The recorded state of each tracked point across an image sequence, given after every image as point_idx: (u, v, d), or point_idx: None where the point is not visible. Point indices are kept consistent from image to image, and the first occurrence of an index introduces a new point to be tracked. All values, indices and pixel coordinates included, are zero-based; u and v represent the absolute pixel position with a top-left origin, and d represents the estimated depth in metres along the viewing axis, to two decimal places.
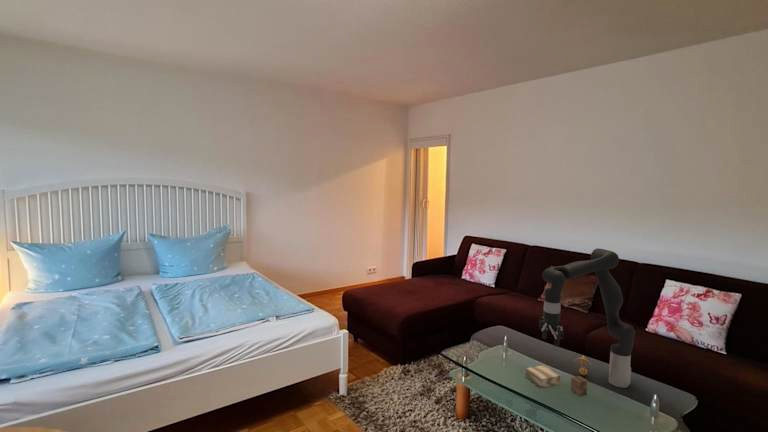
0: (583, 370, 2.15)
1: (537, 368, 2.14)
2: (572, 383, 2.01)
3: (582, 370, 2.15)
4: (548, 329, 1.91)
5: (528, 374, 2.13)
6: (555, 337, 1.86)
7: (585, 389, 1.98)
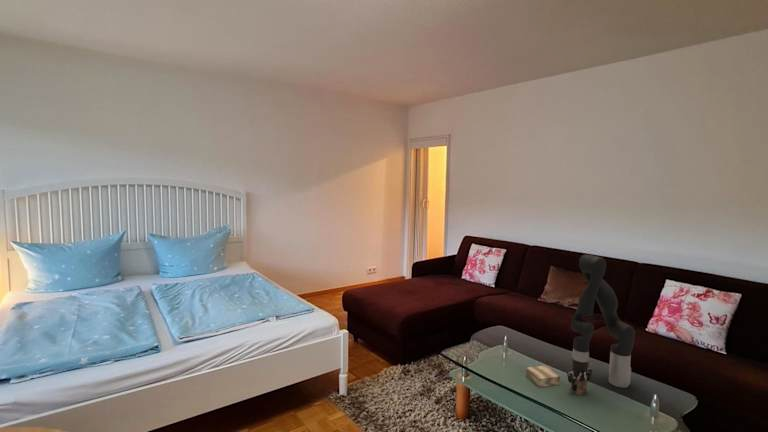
0: None
1: (537, 368, 2.14)
2: None
3: None
4: None
5: (528, 373, 2.14)
6: None
7: (585, 389, 1.98)
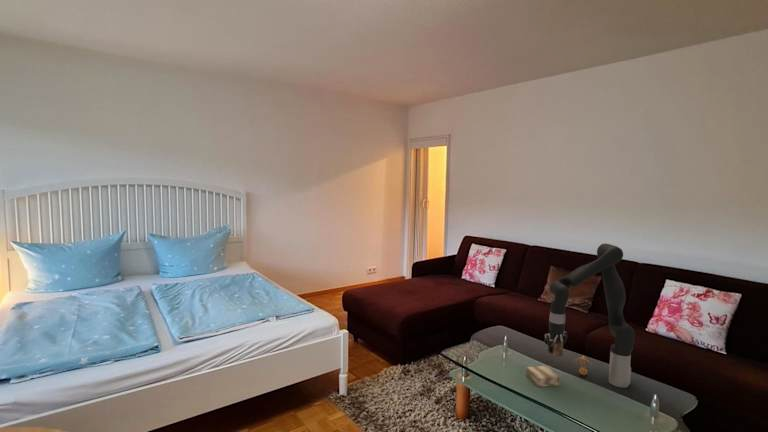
0: (583, 370, 2.15)
1: (538, 368, 2.15)
2: None
3: (582, 370, 2.15)
4: (556, 339, 2.03)
5: (528, 373, 2.14)
6: None
7: (561, 351, 2.03)
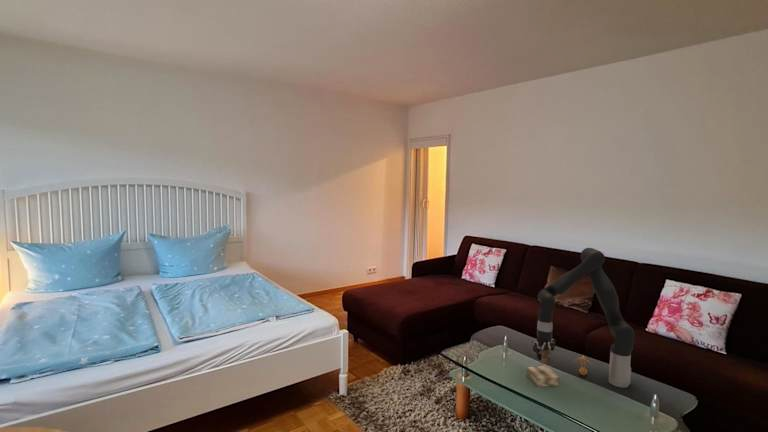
0: (583, 370, 2.15)
1: (538, 368, 2.15)
2: None
3: (582, 370, 2.15)
4: None
5: (528, 372, 2.15)
6: None
7: (549, 358, 2.08)
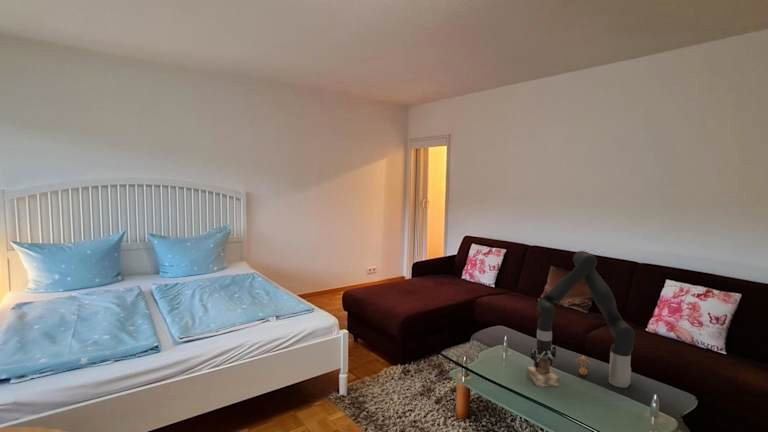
0: (583, 370, 2.15)
1: None
2: None
3: (582, 370, 2.15)
4: (543, 355, 2.09)
5: (528, 372, 2.15)
6: (552, 357, 2.10)
7: (548, 369, 2.09)
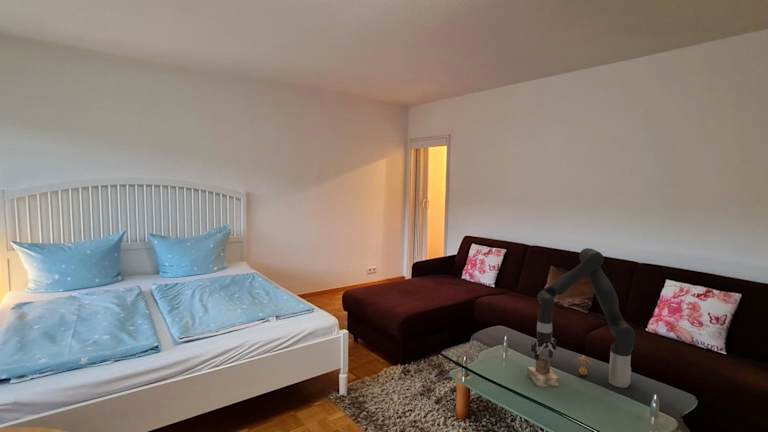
0: (583, 370, 2.15)
1: None
2: (536, 364, 2.11)
3: (582, 370, 2.15)
4: None
5: (528, 372, 2.15)
6: (553, 350, 2.10)
7: (548, 369, 2.09)
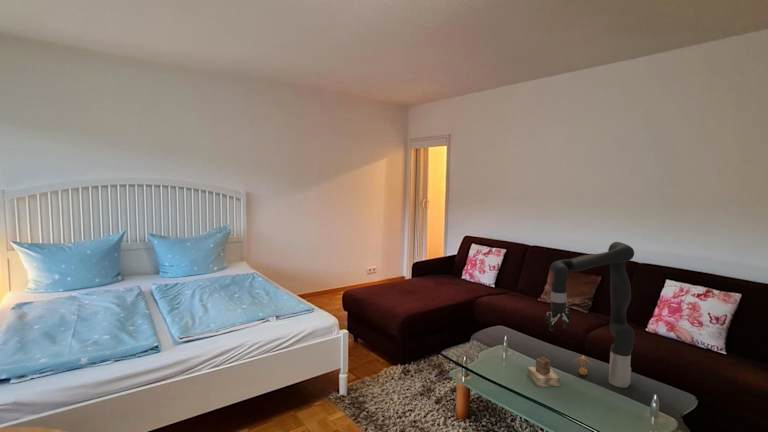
0: (583, 370, 2.15)
1: None
2: (536, 364, 2.11)
3: (582, 370, 2.15)
4: (558, 318, 2.06)
5: (529, 372, 2.15)
6: (567, 320, 2.07)
7: (548, 369, 2.09)
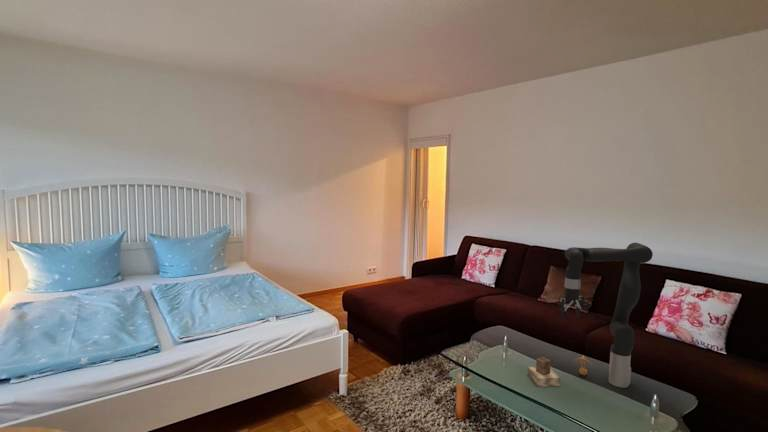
0: (583, 370, 2.15)
1: None
2: (537, 364, 2.11)
3: (582, 370, 2.15)
4: (571, 305, 2.04)
5: (529, 372, 2.15)
6: (580, 307, 2.06)
7: (549, 369, 2.09)
